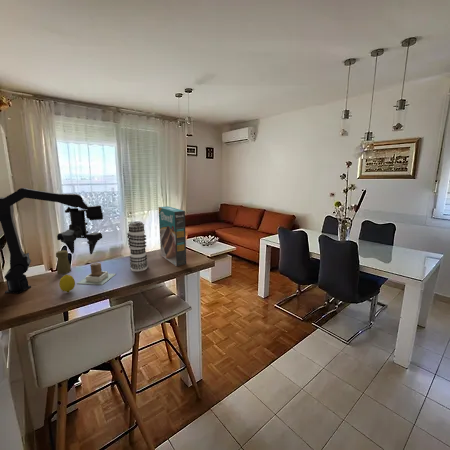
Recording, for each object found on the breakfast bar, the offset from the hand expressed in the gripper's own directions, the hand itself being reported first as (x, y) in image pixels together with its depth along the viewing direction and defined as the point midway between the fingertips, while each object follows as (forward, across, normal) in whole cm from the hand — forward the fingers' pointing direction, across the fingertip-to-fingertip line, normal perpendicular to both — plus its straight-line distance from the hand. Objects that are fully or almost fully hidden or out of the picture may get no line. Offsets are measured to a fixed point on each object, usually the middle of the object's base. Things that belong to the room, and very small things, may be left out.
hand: (82, 253), depth 117 cm
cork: (+12, -15, +6) cm, 20 cm away
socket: (+12, +7, -1) cm, 14 cm away
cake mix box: (+12, +35, +29) cm, 47 cm away
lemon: (+12, +3, -15) cm, 20 cm away
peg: (+12, +7, -1) cm, 14 cm away
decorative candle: (+12, +21, +14) cm, 28 cm away
